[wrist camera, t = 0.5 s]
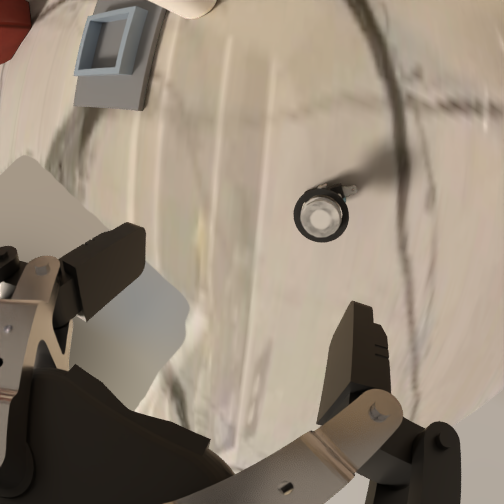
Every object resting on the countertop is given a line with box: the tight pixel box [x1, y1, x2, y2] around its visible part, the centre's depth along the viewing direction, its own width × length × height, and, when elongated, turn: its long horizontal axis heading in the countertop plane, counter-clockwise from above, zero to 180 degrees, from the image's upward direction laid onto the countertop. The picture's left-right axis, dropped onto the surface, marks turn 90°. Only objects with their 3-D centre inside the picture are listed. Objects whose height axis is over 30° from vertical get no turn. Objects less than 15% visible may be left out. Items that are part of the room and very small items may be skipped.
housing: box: [74, 0, 167, 111], centre depth 31 cm, size 22×16×4 cm
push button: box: [294, 183, 357, 242], centre depth 30 cm, size 7×5×10 cm
